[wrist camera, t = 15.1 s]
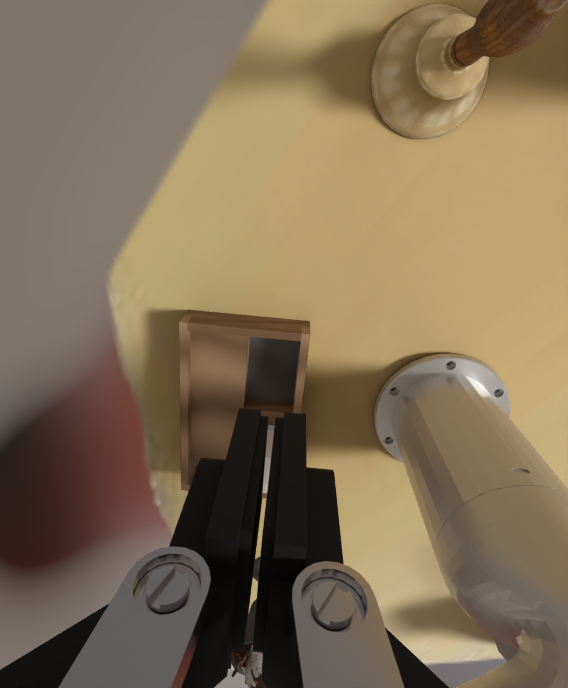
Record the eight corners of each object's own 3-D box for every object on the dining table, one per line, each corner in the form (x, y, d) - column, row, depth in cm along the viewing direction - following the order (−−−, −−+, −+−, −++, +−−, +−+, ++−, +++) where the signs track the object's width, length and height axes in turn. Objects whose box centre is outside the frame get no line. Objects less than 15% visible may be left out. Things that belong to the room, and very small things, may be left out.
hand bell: (486, -11, 28) (686, -203, 13) (489, 125, 31) (654, 88, 17) (363, 22, 29) (424, -124, 14) (377, 150, 32) (440, 137, 18)
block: (239, 425, 40) (233, 452, 36) (280, 432, 40) (278, 458, 36) (235, 459, 42) (228, 487, 38) (274, 465, 42) (272, 494, 38)
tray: (188, 310, 38) (178, 322, 35) (309, 321, 38) (310, 334, 35) (189, 468, 45) (181, 490, 42) (291, 478, 45) (290, 500, 42)
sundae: (308, 581, 51) (310, 735, 37) (257, 594, 52) (241, 747, 38) (287, 544, 49) (281, 693, 35) (235, 558, 50) (209, 708, 36)
